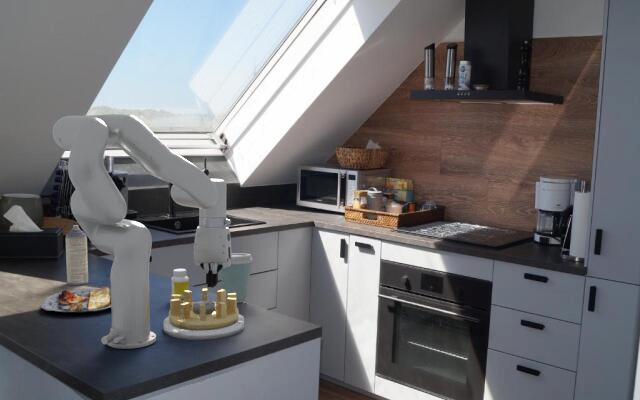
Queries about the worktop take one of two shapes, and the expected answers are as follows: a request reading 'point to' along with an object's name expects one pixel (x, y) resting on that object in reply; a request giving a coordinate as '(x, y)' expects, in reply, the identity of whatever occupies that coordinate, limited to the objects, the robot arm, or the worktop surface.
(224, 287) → the disposable coffee cup
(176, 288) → the supplement bottle
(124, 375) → the worktop surface
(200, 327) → the bladed impeller wheel
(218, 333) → the light grey round disc
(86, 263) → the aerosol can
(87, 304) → the food plate
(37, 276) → the worktop surface
